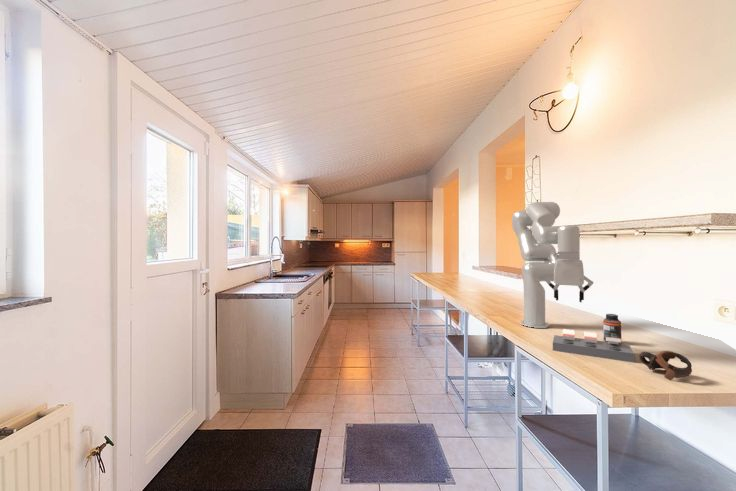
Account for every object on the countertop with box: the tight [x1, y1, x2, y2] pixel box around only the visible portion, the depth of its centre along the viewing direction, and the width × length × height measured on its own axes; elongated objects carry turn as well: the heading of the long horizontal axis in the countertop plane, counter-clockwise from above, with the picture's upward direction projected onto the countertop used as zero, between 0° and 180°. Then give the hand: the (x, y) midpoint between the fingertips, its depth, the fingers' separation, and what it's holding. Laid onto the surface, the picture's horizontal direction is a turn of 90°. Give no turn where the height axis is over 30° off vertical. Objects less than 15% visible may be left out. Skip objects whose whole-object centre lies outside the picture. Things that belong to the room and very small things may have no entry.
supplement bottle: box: [602, 313, 623, 344], centre depth 133 cm, size 6×6×11 cm
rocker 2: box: [606, 337, 622, 345], centre depth 119 cm, size 6×4×2 cm, turn 147°
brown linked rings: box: [638, 350, 693, 381], centre depth 99 cm, size 12×10×8 cm
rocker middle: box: [583, 331, 598, 343], centre depth 123 cm, size 6×4×2 cm, turn 147°
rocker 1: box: [561, 328, 576, 340], centre depth 126 cm, size 6×4×2 cm, turn 147°
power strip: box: [552, 334, 635, 363], centre depth 120 cm, size 12×24×3 cm, turn 57°
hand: (568, 300), depth 128 cm, fingers open, 7 cm apart
